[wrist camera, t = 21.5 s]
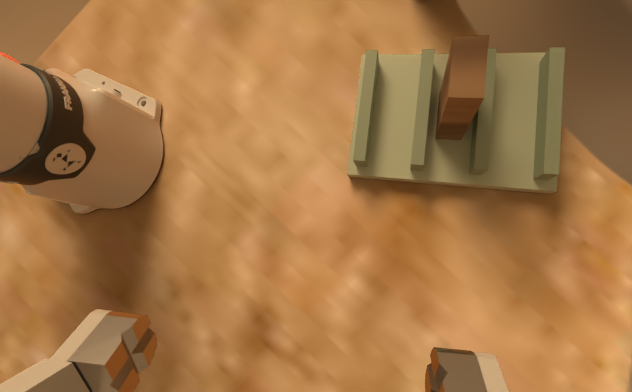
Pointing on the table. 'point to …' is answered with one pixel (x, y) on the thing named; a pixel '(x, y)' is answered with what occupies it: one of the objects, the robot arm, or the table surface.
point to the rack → (481, 135)
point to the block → (462, 86)
